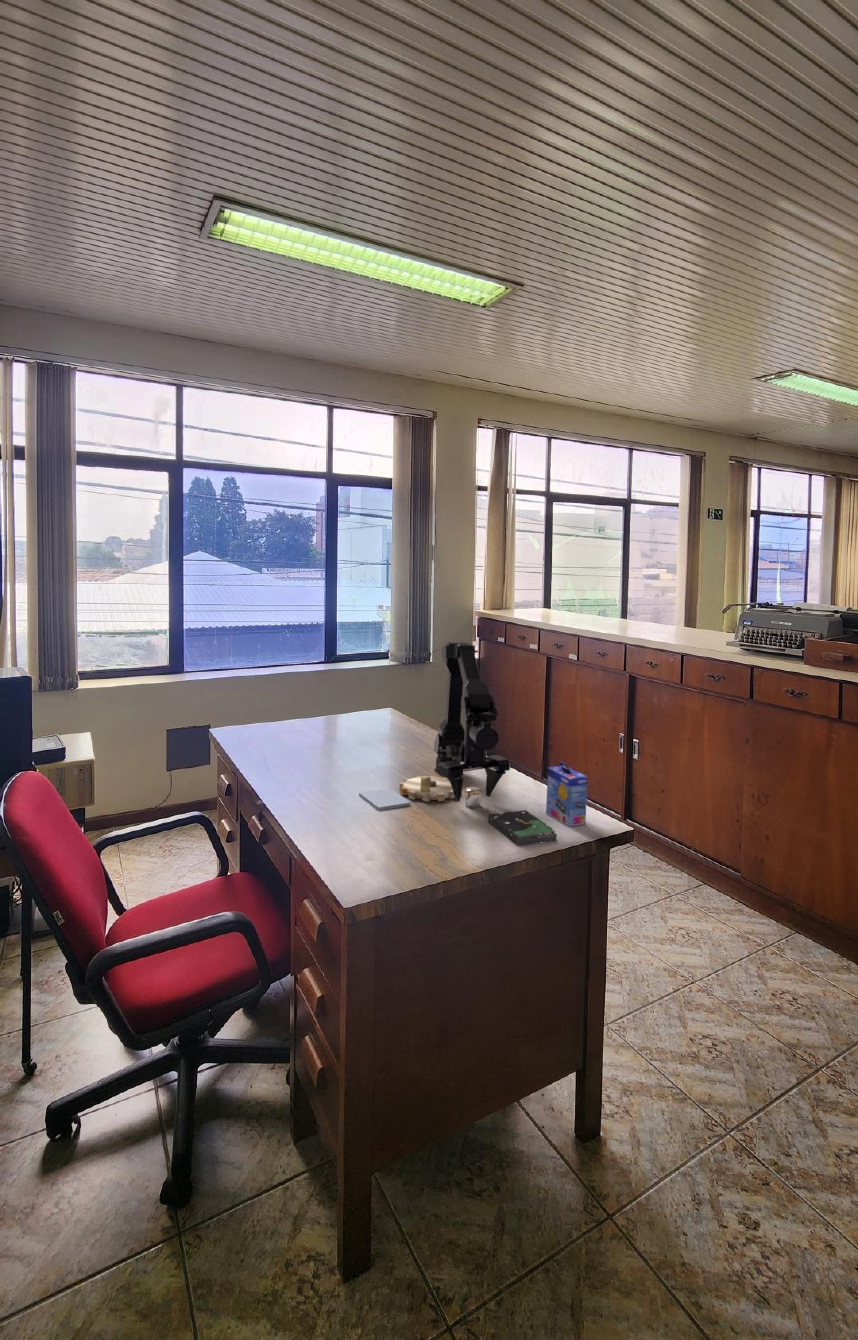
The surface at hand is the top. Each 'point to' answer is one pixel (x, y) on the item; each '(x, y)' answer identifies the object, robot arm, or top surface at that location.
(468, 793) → the small glass jar
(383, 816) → the top surface
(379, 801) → the slate pad
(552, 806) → the ink cartridge box
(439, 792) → the sprocket wheel
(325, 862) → the top surface
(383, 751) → the top surface
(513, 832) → the disk drive
